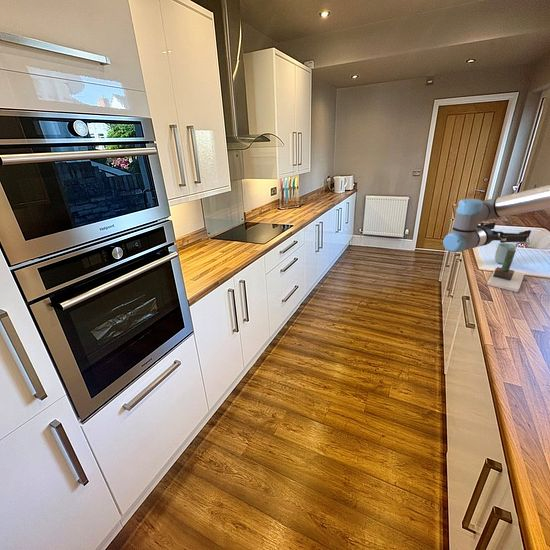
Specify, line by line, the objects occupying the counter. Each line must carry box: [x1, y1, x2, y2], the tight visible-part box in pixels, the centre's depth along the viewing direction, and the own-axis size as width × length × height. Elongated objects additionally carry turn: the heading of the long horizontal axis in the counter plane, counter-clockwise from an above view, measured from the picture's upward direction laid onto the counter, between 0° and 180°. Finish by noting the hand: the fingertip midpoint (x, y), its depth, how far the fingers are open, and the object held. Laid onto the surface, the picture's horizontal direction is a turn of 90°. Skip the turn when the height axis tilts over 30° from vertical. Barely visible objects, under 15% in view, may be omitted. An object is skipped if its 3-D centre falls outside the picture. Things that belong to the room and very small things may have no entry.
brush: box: [493, 249, 517, 281], centre depth 138 cm, size 7×5×14 cm
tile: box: [486, 266, 526, 293], centre depth 141 cm, size 12×22×2 cm, turn 137°
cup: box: [494, 242, 517, 265], centre depth 158 cm, size 8×8×10 cm
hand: (510, 229), depth 122 cm, fingers open, 13 cm apart
